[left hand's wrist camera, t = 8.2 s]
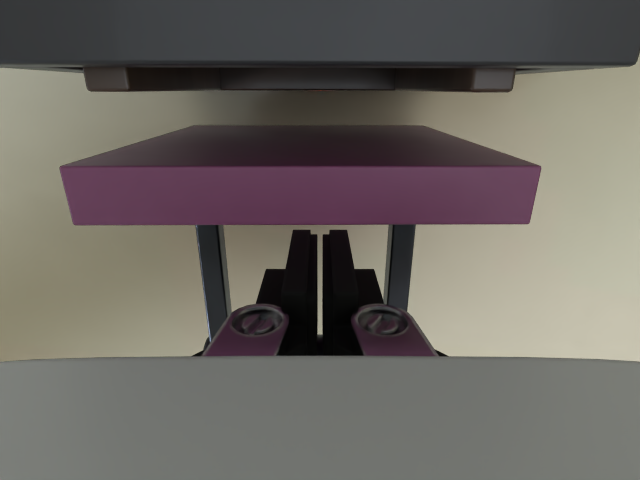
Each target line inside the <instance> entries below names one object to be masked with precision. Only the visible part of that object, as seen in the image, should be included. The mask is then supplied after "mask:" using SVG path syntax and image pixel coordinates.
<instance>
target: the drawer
mask: <svg viewBox="0 0 640 480" xmlns="http://www.w3.org/2000/svg"><path fill="white" fill-rule="evenodd" d="M83 71H84V76H85V81H86V86H87V89H88V90H89V91H91V92H138V91H200V90H394V91H440V92H510V91H512V89H513V84H514V78H515V73H516V68H201V67H83ZM60 172H61V176H62V181H63V185H64V189H65V193H66V197H67V201H68V205H69V209H70V213H71V217H72V221H73V224H74V225H195V226H196V234H197V242H198V250H199V258H200V266H201V274H202V282H203V290H204V298H205V306H206V314H207V322H208V330H209V337H208V338H207V340H206V342H205V345H204V349H203V350H205V349H206V348H207V347H208V345H209V344H210V342H211V341H212V339H213V338H214V336H215V335H216V333H217V332H218V330H219V329H220V327H221V326H222V324H223V323H224V321H225V320H226V318H227V317H228V316H229V315H230V314H231V313H232V312H231V301H230V291H229V281H228V270H227V260H226V249H225V239H224V228H223V225H389V227H388V241H387V255H386V269H385V283H384V297H383V301H384V304H387V305H393V306H396V307H399V308H401V309H403V310H405V311H406V312H407V307H408V297H409V287H410V277H411V267H412V257H413V246H414V236H415V226H416V224H529V223H530V219H531V214H532V209H533V205H534V200H535V195H536V191H537V186H538V181H539V177H540V172H541V166H539V165H536V164H533V163H531V162H528V161H525V160H522V159H519V158H516V157H513V156H510V155H507V154H504V153H501V152H498V151H496V150H493V149H490V148H487V147H484V146H481V145H478V144H475V143H472V142H469V141H466V140H463V139H460V138H458V137H455V136H452V135H449V134H446V133H443V132H440V131H437V130H434V129H431V128H428V127H425V126H191V127H187V128H184V129H181V130H177V131H174V132H171V133H168V134H164V135H161V136H158V137H154V138H151V139H148V140H145V141H141V142H138V143H135V144H131V145H128V146H125V147H122V148H118V149H115V150H112V151H108V152H105V153H102V154H99V155H95V156H92V157H89V158H85V159H82V160H79V161H76V162H72V163H69V164H66V165H62V166H60ZM317 356H323V335H317Z"/></svg>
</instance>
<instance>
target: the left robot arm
mask: <svg viewBox="0 0 640 480" xmlns="http://www.w3.org/2000/svg"><path fill="white" fill-rule="evenodd" d="M0 480H640V362H637V361H620V360H604V359H574V358H536V357H449V356H447V355H445V354H443V353H441V352H439V351H437V350H435V349H434V348H433V347H432V345H431V344H430V342H429V341H428V339H427V338H426V336H425V335H424V333H423V332H422V330H421V329H420V327H419V326H418V324H417V323H416V321H415V320H414V318H413V317H412V316H411V315H410V314H409V313H408V312H406V311H405V310H403V309H401V308H399V307H396V306H393V305H387V304H384V301H383V298H382V295H381V291H380V288H379V284H378V281H377V278H376V274H375V271H374V269H354V264H353V259H352V254H351V249H350V243H349V238H348V233H347V230H330V231H329V234H323V356H317V234H311V231H310V230H293V233H292V238H291V243H290V249H289V254H288V259H287V264H286V269H266V271H265V274H264V278H263V281H262V284H261V288H260V291H259V295H258V298H257V301H256V304H253V305H247V306H244V307H241V308H239V309H237V310H235V311H234V312H232V313H231V314H230V315H229V316H228V317H227V318H226V320H225V321H224V323H223V324H222V326H221V327H220V329H219V330H218V332H217V333H216V335H215V336H214V338H213V339H212V341H211V342H210V344H209V345H208V347H207V348H206V349H205V350H203V351H201V352H199V353H197V354H195V355H193V356H190V357H99V358H66V359H34V360H20V361H5V362H0Z"/></svg>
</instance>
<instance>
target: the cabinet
mask: <svg viewBox="0 0 640 480" xmlns="http://www.w3.org/2000/svg"><path fill="white" fill-rule="evenodd" d="M639 53H640V0H0V67H1V68H16V69H31V70H46V71H61V72H75V73H84V71H83V67H201V68H516V73H515V74H529V73H544V72H558V71H572V70H586V69H601V68H615V67H629V66H632V65H634V64H636V62H637V60H638V56H639Z"/></svg>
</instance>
